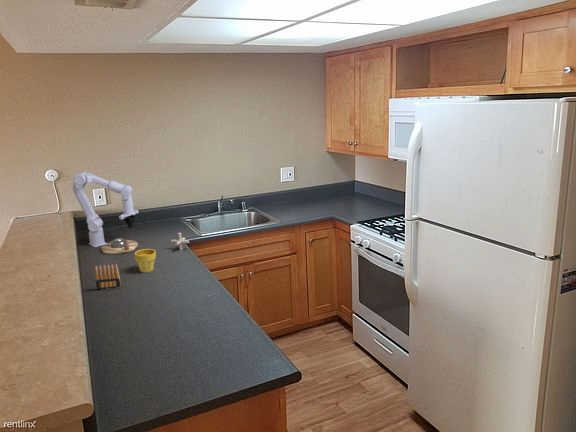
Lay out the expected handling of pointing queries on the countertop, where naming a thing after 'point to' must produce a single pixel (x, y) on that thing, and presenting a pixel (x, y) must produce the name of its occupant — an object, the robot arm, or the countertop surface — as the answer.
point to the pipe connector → (180, 241)
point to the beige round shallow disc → (127, 248)
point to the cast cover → (118, 243)
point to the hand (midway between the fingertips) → (130, 227)
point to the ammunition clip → (107, 277)
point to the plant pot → (145, 259)
